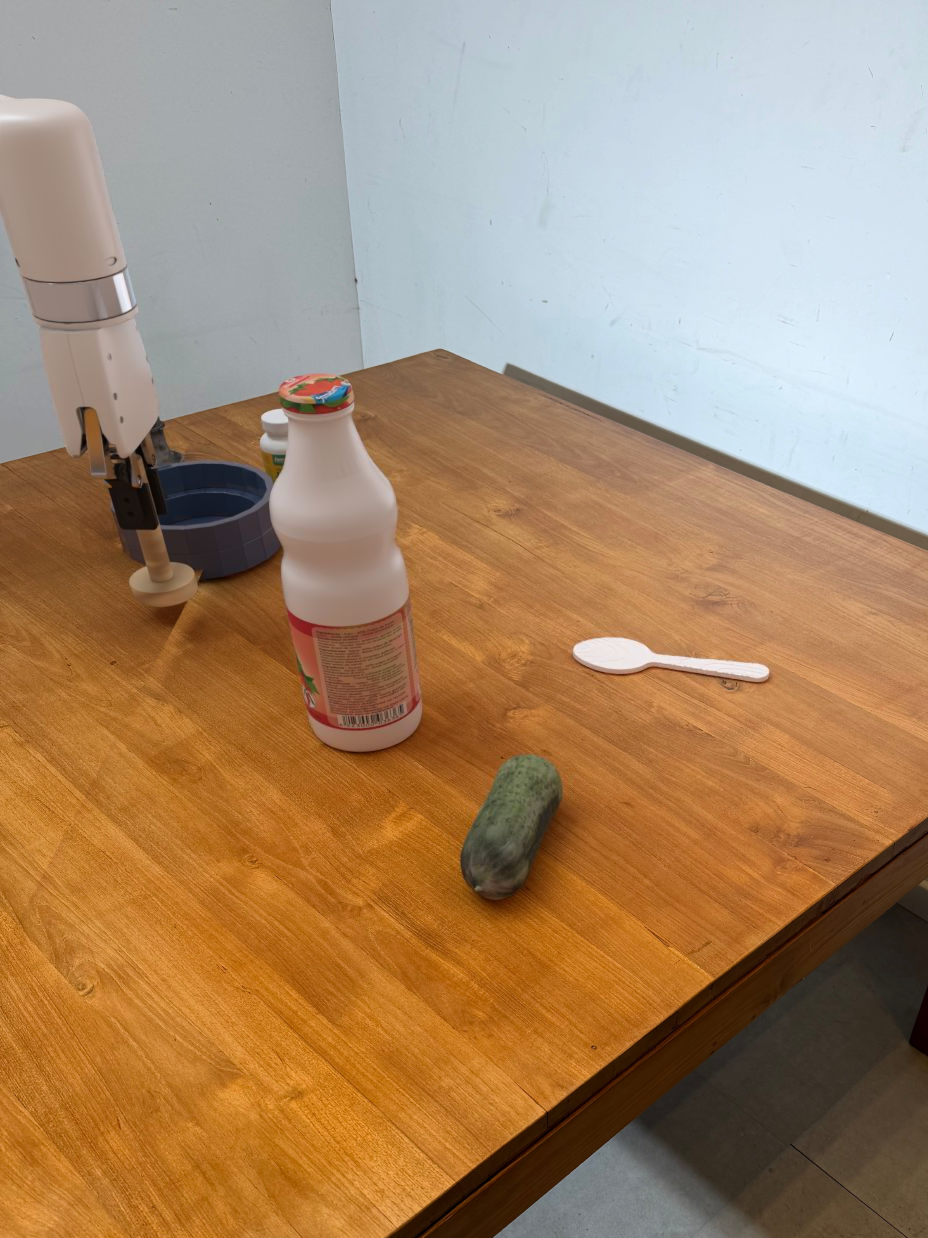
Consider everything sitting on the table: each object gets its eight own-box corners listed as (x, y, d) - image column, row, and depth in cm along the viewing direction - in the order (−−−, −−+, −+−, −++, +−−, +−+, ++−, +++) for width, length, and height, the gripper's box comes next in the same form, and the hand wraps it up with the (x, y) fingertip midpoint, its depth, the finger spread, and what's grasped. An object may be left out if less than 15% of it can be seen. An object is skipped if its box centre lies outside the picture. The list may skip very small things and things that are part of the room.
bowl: (106, 584, 110) (88, 527, 106) (152, 512, 122) (138, 458, 118) (266, 586, 111) (254, 530, 107) (297, 514, 122) (288, 461, 118)
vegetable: (506, 787, 89) (503, 736, 85) (569, 797, 88) (569, 746, 85) (446, 909, 78) (440, 857, 75) (517, 923, 78) (515, 870, 74)
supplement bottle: (314, 487, 127) (300, 402, 121) (326, 507, 124) (312, 421, 117) (266, 495, 126) (249, 410, 119) (277, 515, 122) (260, 428, 116)
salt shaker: (126, 499, 124) (94, 389, 116) (154, 477, 128) (126, 369, 120) (174, 505, 123) (146, 395, 115) (201, 483, 127) (176, 376, 119)
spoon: (766, 692, 99) (766, 687, 99) (566, 667, 101) (566, 662, 101) (771, 660, 103) (772, 655, 103) (579, 636, 105) (579, 631, 105)
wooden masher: (125, 607, 100) (83, 472, 92) (144, 576, 104) (105, 444, 96) (189, 607, 100) (152, 473, 92) (205, 576, 104) (171, 445, 96)
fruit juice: (384, 767, 90) (332, 422, 71) (286, 736, 93) (212, 396, 74) (444, 706, 97) (412, 374, 78) (352, 678, 99) (299, 352, 81)
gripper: (67, 263, 91) (129, 480, 103) (-11, 328, 79) (69, 565, 91) (161, 265, 91) (211, 481, 103) (97, 330, 79) (162, 566, 92)
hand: (144, 519), depth 97 cm, fingers closed on wooden masher
